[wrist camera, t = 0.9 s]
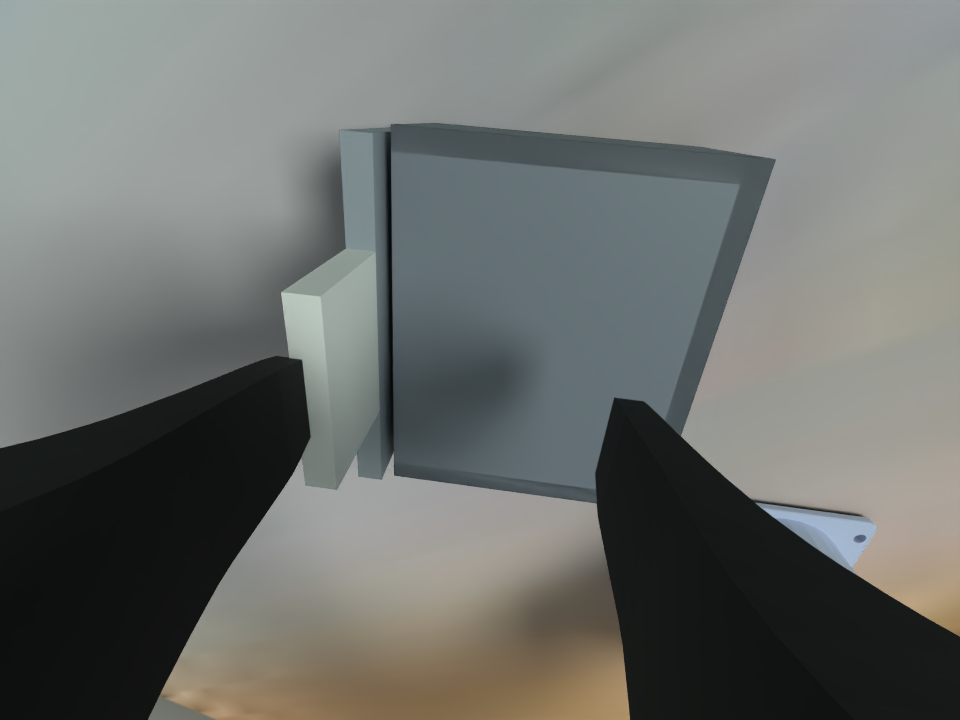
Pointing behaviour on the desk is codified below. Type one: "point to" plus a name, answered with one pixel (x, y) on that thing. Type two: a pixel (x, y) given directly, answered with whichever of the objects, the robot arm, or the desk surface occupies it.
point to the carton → (552, 294)
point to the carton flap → (350, 324)
